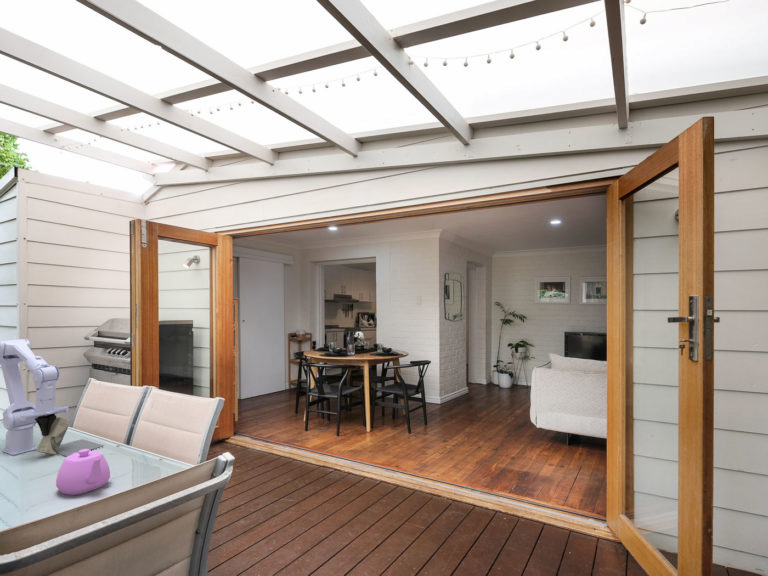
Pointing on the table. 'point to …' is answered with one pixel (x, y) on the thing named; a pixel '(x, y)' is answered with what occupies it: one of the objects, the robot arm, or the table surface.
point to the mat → (76, 447)
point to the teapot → (82, 472)
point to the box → (54, 436)
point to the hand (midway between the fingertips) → (45, 435)
